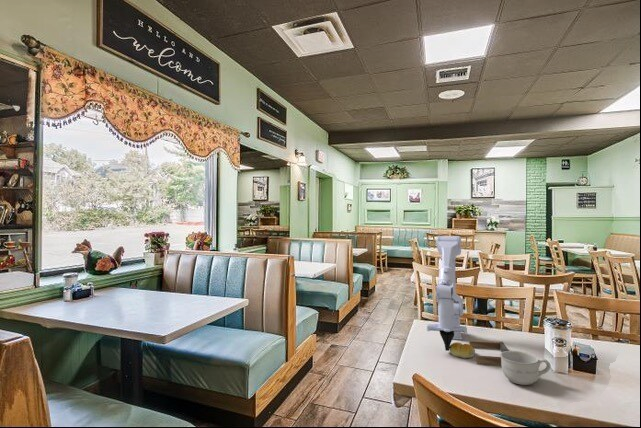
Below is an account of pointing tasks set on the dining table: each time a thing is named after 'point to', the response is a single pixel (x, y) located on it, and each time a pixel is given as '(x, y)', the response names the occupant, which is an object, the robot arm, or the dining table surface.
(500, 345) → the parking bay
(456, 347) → the bread roll
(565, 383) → the dining table surface
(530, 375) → the teacup
